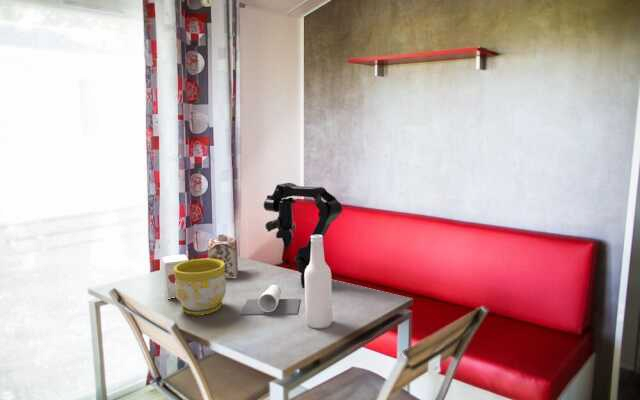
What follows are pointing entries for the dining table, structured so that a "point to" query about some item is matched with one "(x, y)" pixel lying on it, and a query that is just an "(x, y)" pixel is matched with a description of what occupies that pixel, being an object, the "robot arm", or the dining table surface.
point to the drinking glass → (270, 298)
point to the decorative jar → (224, 253)
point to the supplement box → (171, 273)
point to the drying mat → (282, 309)
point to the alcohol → (318, 287)
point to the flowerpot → (200, 285)
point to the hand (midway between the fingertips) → (286, 249)
